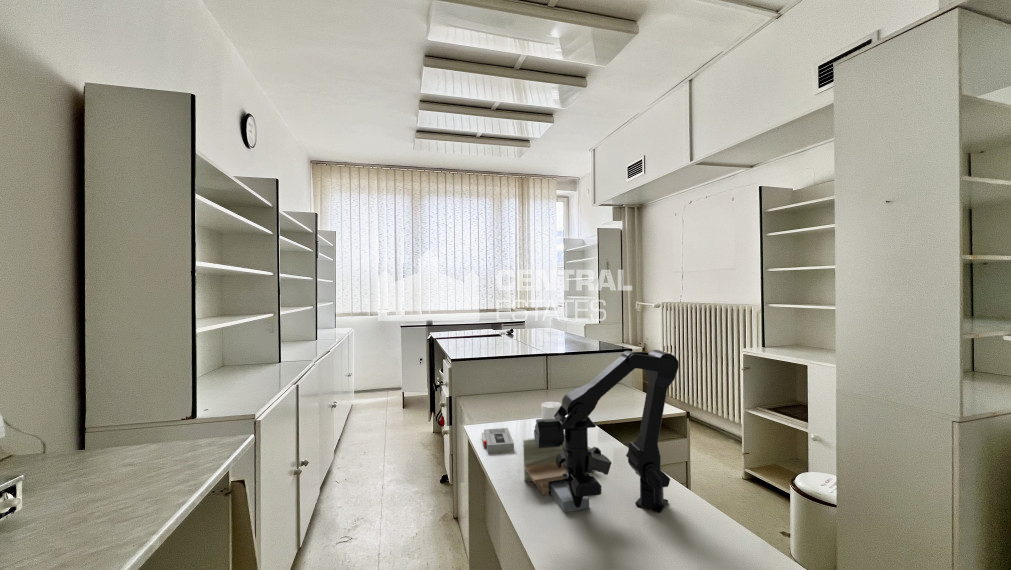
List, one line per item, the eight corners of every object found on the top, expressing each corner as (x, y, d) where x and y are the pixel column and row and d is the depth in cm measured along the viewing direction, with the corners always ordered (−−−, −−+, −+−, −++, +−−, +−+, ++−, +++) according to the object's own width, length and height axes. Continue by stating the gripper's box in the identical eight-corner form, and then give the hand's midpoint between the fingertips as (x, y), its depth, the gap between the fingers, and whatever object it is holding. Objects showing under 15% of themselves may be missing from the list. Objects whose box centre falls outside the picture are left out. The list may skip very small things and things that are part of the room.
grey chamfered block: (589, 508, 108) (589, 498, 108) (563, 511, 107) (563, 502, 107) (566, 479, 124) (566, 471, 124) (543, 482, 122) (543, 474, 122)
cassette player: (513, 443, 145) (484, 445, 144) (514, 451, 145) (484, 453, 144) (507, 427, 161) (481, 429, 160) (507, 434, 161) (481, 436, 160)
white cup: (548, 425, 170) (547, 400, 170) (565, 429, 166) (565, 403, 166) (538, 431, 164) (537, 405, 164) (555, 435, 159) (555, 408, 159)
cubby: (589, 488, 118) (588, 445, 118) (535, 496, 114) (534, 452, 114) (574, 472, 128) (574, 433, 128) (524, 480, 124) (523, 439, 124)
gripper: (622, 457, 98) (623, 524, 98) (594, 429, 117) (595, 486, 117) (575, 461, 97) (577, 529, 97) (554, 432, 115) (556, 490, 115)
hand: (577, 506), depth 106 cm, fingers closed
